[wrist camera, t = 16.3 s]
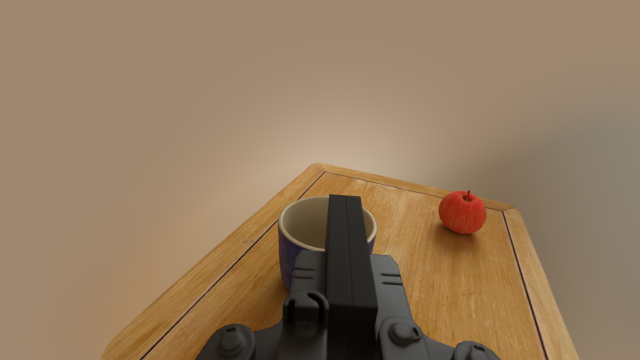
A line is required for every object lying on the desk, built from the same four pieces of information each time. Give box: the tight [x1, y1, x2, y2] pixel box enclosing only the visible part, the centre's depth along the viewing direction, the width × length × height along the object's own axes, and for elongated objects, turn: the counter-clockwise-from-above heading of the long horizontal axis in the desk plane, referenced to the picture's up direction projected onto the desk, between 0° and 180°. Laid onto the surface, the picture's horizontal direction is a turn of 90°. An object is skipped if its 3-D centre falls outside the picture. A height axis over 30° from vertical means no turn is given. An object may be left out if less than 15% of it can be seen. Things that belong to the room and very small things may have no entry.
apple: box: [439, 191, 486, 234], centre depth 57 cm, size 8×8×8 cm
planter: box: [278, 196, 377, 294], centre depth 41 cm, size 12×12×11 cm
